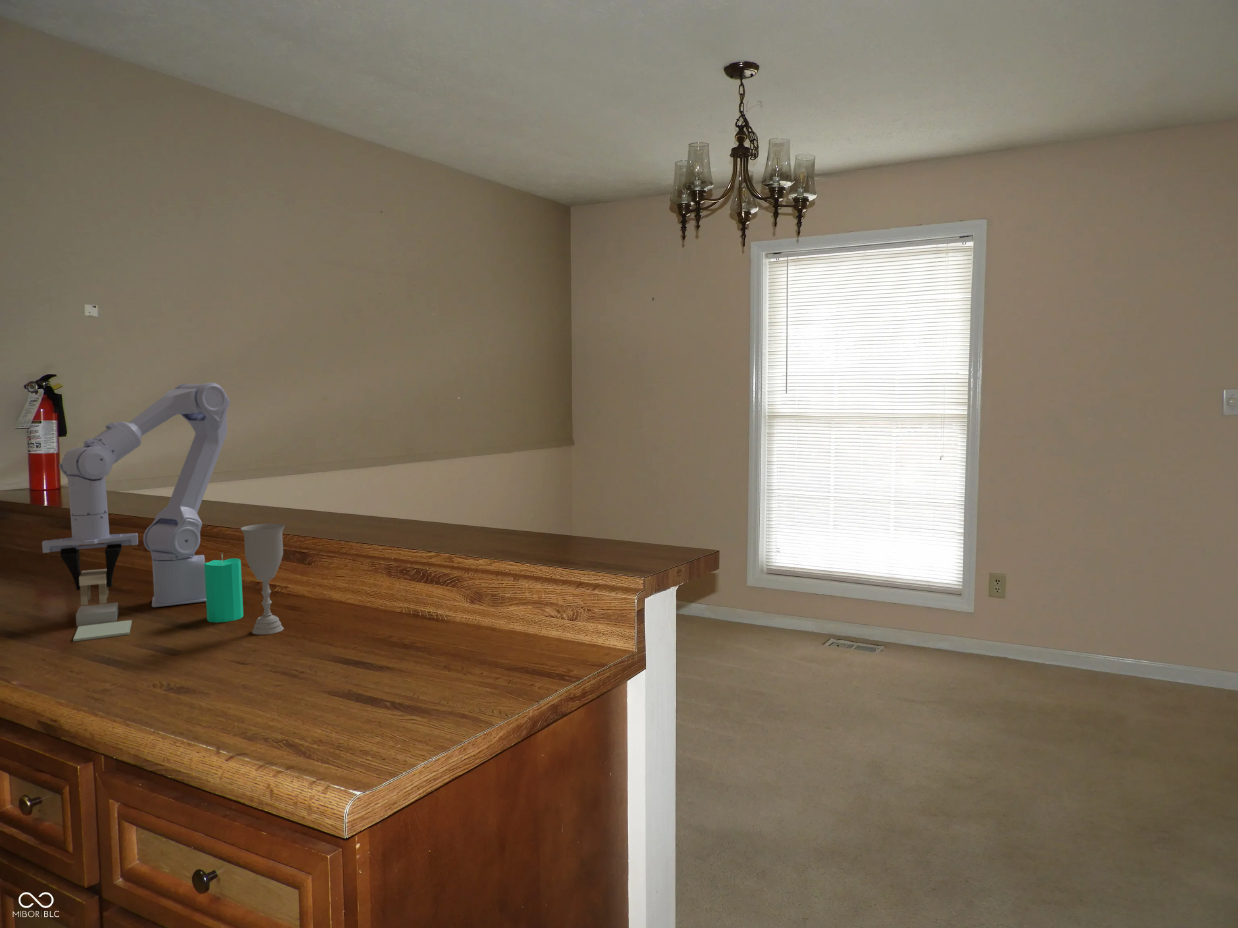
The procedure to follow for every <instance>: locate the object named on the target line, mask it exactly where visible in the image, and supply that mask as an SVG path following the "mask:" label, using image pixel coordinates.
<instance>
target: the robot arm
mask: <svg viewBox="0 0 1238 928" xmlns="http://www.w3.org/2000/svg"><path fill="white" fill-rule="evenodd" d="M230 405H231V401H230V399H229V397H228V395H227V393H226V391H225V390H224V388H223V387H222V386H221V385H219V384H218V383H216V382H206V383H180V384H178V385H177V386H176V387H174V388H173V389H170V390H168V391H166V392H165V394H164V395H163V396H162V397H160V398H159V399H158V400H156V401H155V402H154V403H152V404H151V405H149V407H147V408H146V409H144V410H143V411H142V412H140V413H139V414H138V415H136V416H134V418H132V419H131V420H130V421H129V422H127V421H126V422H125V421H116V422H109V423H108V424H105V426H104V427H105V429H104V430H103V431H101V432H100V433H99V434H97V435H95V436H94V437H92V438H86V439H85V440H84V441H83V446H82V447H81V446H79V447H78V446H77V447H73V448H71V449H68V450H67V451H66V452H65V453H64V455H63V456H64V457H62V460H61V462H60V463H59V466H58V467H59V469H60V471H61V472H62V474H63V475H64V476H65V477H66V479H67V486H68V498H69V510H70V511H69V514H70V526H71V528H70V529H71V537H65V538H58V539H57V538H55V539H48V540H47V539H46V540H43V541H42V542H41V546H42V549H41V550H42V553H43V554H45V553H47V554H48V553H51V552H60V555H59V556H60V558H61V560H62V561H63V562H64V564H65V565H66V567H67V569H68V570H69V572H70V574H71V576H72V579H73V581H74V584H75V588H76V591H80V586H79V576H80V574H81V572H82V571H81V563H80V562H81V559H80V550H85V549H96V548H97V549H98V548H105V550H104V554H105V564H106V569H107V587H108V588H111V587H112V586H113V577H114V571H115V567H116V565H117V562H118V561H117V560H118V559H119V556H120V553H121V552H122V548H123V546H135V545H136V546H137V545H139V538H138V536H139V535H138V534H139V533H137V532H136V533H134V532H133V533H112V534H110V525H109V523H110V521H109V512H108V511H109V510H108V498H107V497H108V495H107V483H106V482H107V481H106V477H107V476H109V474H110V473H111V471H112V468H113V465H115V464H116V463H118V462H119V461H120V460H122V459H123V458H125V457H126V456H128V455H129V454H130V453H131V452H133V451H135V450H136V449H137V448H139V447H140V446H141V444H142V437H143V436H144V435H146V434H148V433H149V432H151V431H153V430H154V429H155V428H157V427H159V426H160V425H163V424H164V423H165V422H167V421H168V420H170V419H172V418H173V417H175V416H177V415H180V416H181V417H182V418H184V420H185V421H186V422H187V423H188V424H189V425H190V426H191V428H192V429H193V431H194V434H195V435H194V437H193V439H192V442H191V444H190V448H189V450H188V453H187V456H186V458H185V461H184V463H183V466H182V468H181V470H180V473H179V476H178V478H177V481H176V484H175V486H174V488H173V491H172V493H171V497H170V499H169V501H168V504H167V506H165V507H164V508H163V509H162V510H161V511H159V512H158V513H157V514H156V516H155V518H154V520H153V522H152V523H151V524H150V525H149V526H148V527H147V528H146V529H145V532H144V533H143V545H144V546H145V549H147V550H148V551H150V558H151V562H152V563H151V564H152V577H153V579H152V582H153V596H152V599H151V600H152V602H151V607H152V608H160V607H168V606H177V605H184V604H185V605H186V604H193V603H194V604H195V603H203V602H206V590H205V571H204V563H206V562H205V561H206V560H205V558H206V557H205V555H204V554H198V555H197V554H196V555H195V553H196V552H197V550H198V549H199V547H200V544H201V529H202V527H203V522H202V520H201V518H200V516H199V514H198V512H199V510H200V506H201V504H202V502H203V498H204V495H205V493H206V491H207V488H208V485H209V482H210V480H211V478H212V474H213V473H214V470H215V467H216V464H217V462H218V459H219V456H220V453H221V451H222V448H223V445H224V443H225V440H226V437H227V434H228V415H227V414H228V413H227V412H228V409H229V407H230Z"/></svg>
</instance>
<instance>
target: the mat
mask: <svg viewBox="0 0 1238 928" xmlns="http://www.w3.org/2000/svg"><path fill="white" fill-rule="evenodd" d="M132 623H133V622H132V619H130V620H121V621H116V622H109V623H100V624H92V625H83V626H77V629H76V632H75V634H74V636H73V639H72V641H73V642H81V641H89V640H97V639H106V638H112V637H121V636H128V635H130V633H131V627H132Z"/></svg>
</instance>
